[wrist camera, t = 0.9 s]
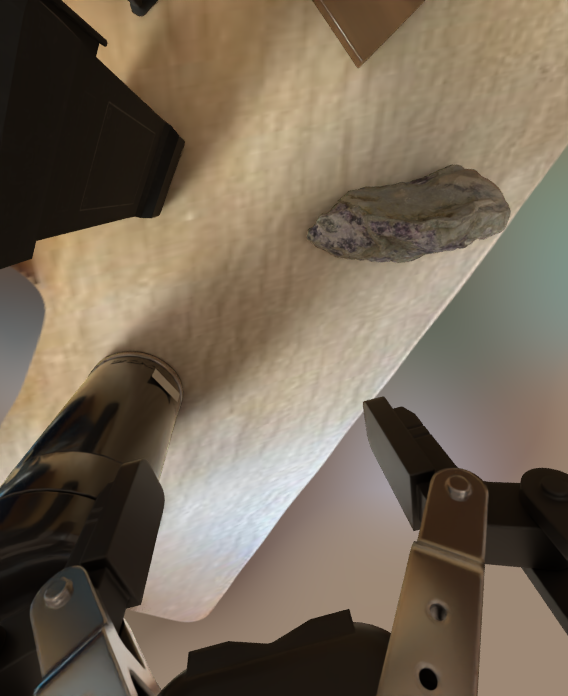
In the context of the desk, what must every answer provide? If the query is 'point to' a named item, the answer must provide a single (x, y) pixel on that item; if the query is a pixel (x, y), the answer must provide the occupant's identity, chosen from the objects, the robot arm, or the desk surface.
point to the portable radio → (71, 133)
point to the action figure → (141, 6)
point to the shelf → (365, 22)
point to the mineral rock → (413, 217)
